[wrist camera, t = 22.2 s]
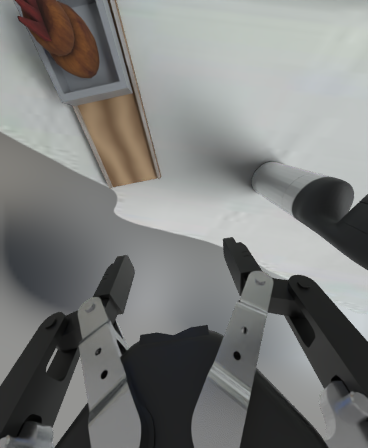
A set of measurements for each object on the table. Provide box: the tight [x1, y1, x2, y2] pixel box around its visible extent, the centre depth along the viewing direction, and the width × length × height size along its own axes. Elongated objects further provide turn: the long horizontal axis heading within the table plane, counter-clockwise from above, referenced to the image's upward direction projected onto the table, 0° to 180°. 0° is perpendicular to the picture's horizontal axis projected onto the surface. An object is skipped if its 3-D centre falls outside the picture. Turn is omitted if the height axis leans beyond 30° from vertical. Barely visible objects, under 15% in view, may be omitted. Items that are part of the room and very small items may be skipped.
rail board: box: [72, 0, 161, 189], centre depth 33 cm, size 14×31×3 cm, turn 10°
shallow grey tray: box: [14, 0, 133, 106], centre depth 26 cm, size 12×12×6 cm
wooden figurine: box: [15, 0, 100, 78], centre depth 20 cm, size 7×6×15 cm
